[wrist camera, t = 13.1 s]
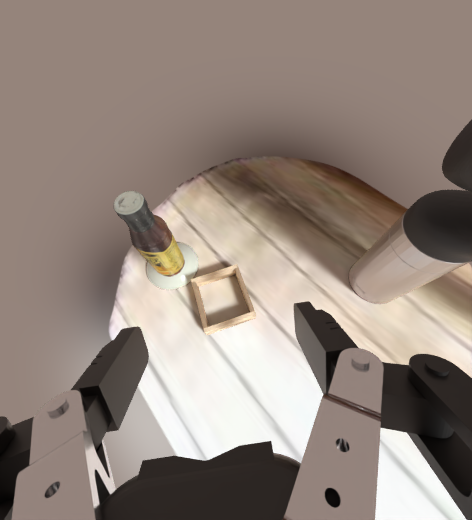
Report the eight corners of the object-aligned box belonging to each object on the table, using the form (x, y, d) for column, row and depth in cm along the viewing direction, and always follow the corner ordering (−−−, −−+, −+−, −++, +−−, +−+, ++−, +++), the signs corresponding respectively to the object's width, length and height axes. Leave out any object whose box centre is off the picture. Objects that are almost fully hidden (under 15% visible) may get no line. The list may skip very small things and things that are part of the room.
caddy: (237, 270, 46) (237, 264, 43) (255, 318, 41) (256, 314, 38) (194, 284, 45) (190, 279, 42) (207, 335, 40) (204, 332, 37)
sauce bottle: (150, 266, 46) (91, 201, 29) (173, 246, 48) (130, 175, 31) (170, 285, 44) (119, 228, 27) (193, 264, 46) (159, 198, 28)
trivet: (192, 237, 50) (191, 236, 49) (204, 280, 45) (203, 278, 45) (144, 252, 49) (143, 250, 48) (151, 297, 44) (150, 296, 43)
